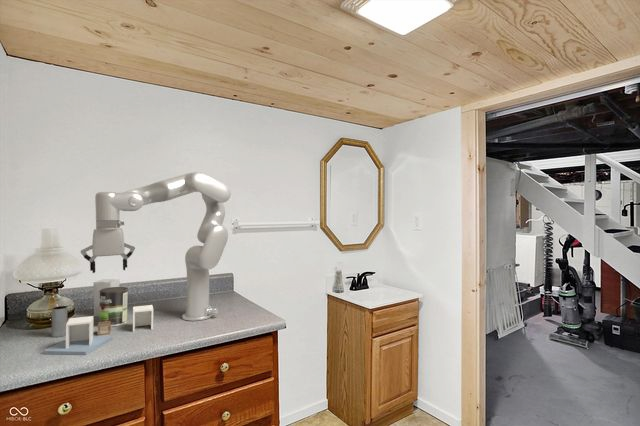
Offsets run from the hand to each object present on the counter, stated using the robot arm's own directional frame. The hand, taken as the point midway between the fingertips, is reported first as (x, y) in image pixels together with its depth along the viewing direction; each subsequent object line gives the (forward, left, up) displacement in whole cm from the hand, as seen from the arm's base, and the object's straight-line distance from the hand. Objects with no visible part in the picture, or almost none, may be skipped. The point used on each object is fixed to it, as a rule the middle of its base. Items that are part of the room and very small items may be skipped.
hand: (109, 271), depth 128 cm
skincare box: (+17, -26, -24) cm, 39 cm away
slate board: (+3, +10, -24) cm, 26 cm away
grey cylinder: (+18, 0, -24) cm, 30 cm away
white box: (+3, +10, -23) cm, 26 cm away
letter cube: (+3, -3, -24) cm, 25 cm away
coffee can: (+7, -15, -24) cm, 29 cm away
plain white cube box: (-8, -10, -24) cm, 27 cm away
